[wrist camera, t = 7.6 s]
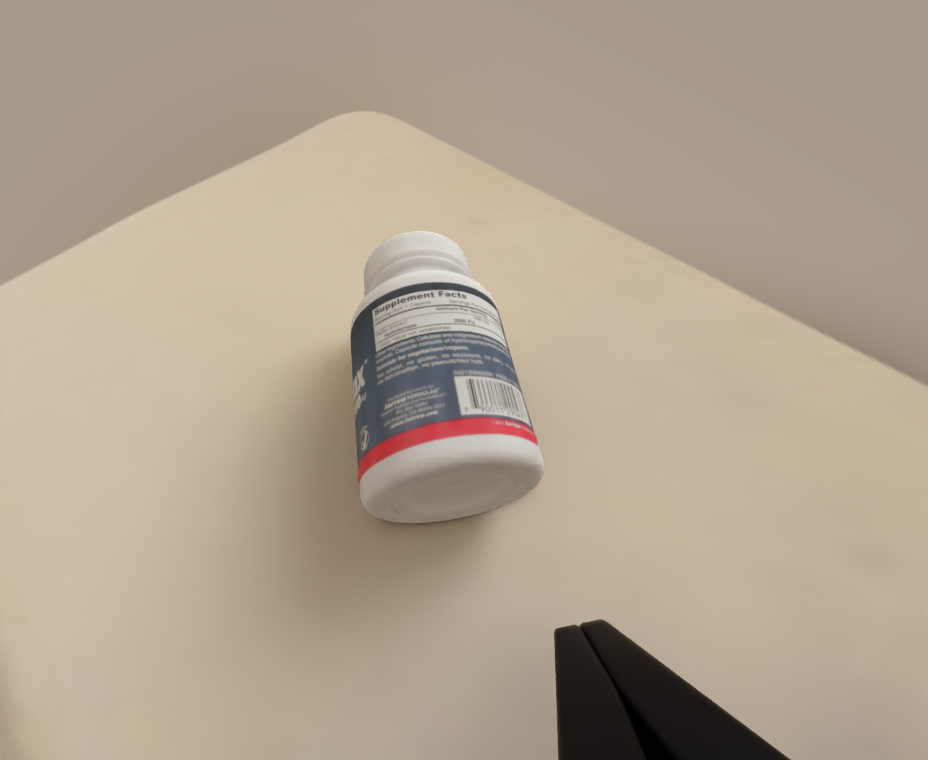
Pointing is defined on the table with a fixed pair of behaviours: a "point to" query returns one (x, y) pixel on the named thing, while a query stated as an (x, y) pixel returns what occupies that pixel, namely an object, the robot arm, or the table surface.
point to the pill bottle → (435, 389)
